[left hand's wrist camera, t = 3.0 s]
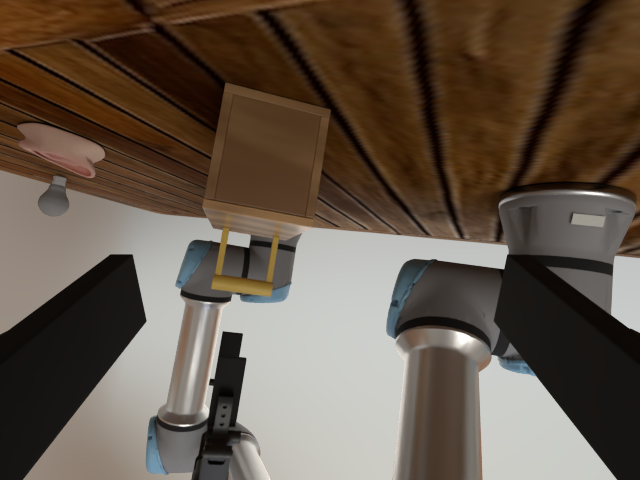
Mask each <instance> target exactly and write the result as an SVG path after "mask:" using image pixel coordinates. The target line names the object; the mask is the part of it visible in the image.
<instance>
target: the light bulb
mask: <svg viewBox="0 0 640 480" xmlns="http://www.w3.org/2000/svg"><path fill="white" fill-rule="evenodd" d="M53 177H54V180H53V181H52V184H51V185H50V186H49V188H48V190H47V191H46V192H45V193H44V194H43V195H41V196H40V198H39V200H38V206H39V208H40V210H41V211H42V212H43V213H45V214H46V215H49V216H60V215H62V214H64V213H65V212H66V211H67V210H68V208H69V201H68V198H67V196H66V188H65V184H66V183H65V182H66V180H67V179H66V178H64V177H63V176H60V175H56V176H53Z"/></svg>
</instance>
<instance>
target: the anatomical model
mask: <svg viewBox="0 0 640 480" xmlns="http://www.w3.org/2000/svg"><path fill="white" fill-rule="evenodd" d="M17 128H18V129H19V130H20V131H21V132H22V133H23V135H24V136H25V138H24V139H22V140H20V141H19V142H18V145H19V146H20V147H22V148H23V149H25V150H27V151H30V152H32V153H34V154H36V155H38V156H40V157H42V158H44V159H46V160H48V161H50V162H52V163H54V164H56V165H59V166H61V167H63V168H65V169H67V170H70V171H72V172H74V173H76V174H79V175H81V176H84V177H87V178H93V177H94V176H95V169H94V167H93V163H95V162H97V161H100V160H102V159H103V158H104V157H105V152H104V150H103V148H102V147H101V146H99V145H98V144H96V143H94V142H92V141H90V140H88V139H85V138H83V137H80V136H78V135H75V134H72V133H69V132H66V131H64V130H61V129H58V128H55V127H52V126H48V125H45V124H40V123H24V124H20V125H18V126H17Z"/></svg>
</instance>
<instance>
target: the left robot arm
mask: <svg viewBox="0 0 640 480" xmlns="http://www.w3.org/2000/svg"><path fill="white" fill-rule="evenodd" d="M636 200H637V198H636V196H635V195H634V194H633V193H631V192H629V191H627V190H624V189H620V188H616V187H611V186H605V185H596V184H580V183H559V184H543V185H534V186H527V187H522V188H518V189H514V190H511V191H508V192H506V193H504V194H502V195H501V196H500V199H499V215H500V218H501V222H502V226H503V230H504V234H505V237H506V241H507V245H508V249H509V254H508V255H507V259H506V264H505V269H497V268H489V267H482V266H474V265H467V264H459V263H451V262H444V261H438V260H436V259H434V260H433V259H432V260H420V259H412V260H410V261H407V262H406V263H404V265H403V266H402V268H401V270H400V272H399V274H398V277H397V280H396V284H395V287H394V291H393V295H392V302H391V304H390V308H389V312H388V318H387V326H386V329H387V330H386V331H387V334H388V335H389V336H391V337H392V338H394V339H396V340H395V348H396V351H397V353H398V354H399V356H400V357H401V358H402V359H403V360H404V361H405V367H404V376H403V386H402V395H401V405H400V414H399V423H398V433H397V443H396V452H395V461H394V471H393V480H482V457H481V430H480V401H479V374H478V372H480V371H481V370H483V369H484V368H485V367H487V366H488V365H489V363H490V361H491V355H496V356H498V360H499V363H500V365H501V366H502V367H503V368H505V369H507V370H510V371H513V372H517V373H522V374H530V375H533V376H537V378H538V379H539V380H540V381H541V383H542V384H543V385H544V387H545V388H546V389H547V390H548V392H549V393H550V394H551V395H552V397H553V398H554V399H555V401H556V402H557V403H558V405H559V406H560V407H561V408H562V410H563V411H564V412H565V414H566V415H567V416H568V417H569V419H570V420H571V421H572V422H573V424H574V425H575V426H576V428H577V429H578V430H579V431H580V433H581V434H582V435H583V437H584V438H585V439H586V440H587V442H588V443H589V444H590V446H591V447H592V448H593V449H594V451H595V452H596V453H597V454H598V456H599V457H600V458H601V460H602V461H603V462H604V463H605V465H606V466H607V467H608V469H609V470H610V471H611V472H612V474H613V475H614V476H615V478H616V479H617V480H640V333H639V332H637V331H635V330H633V329H629V328H628V327H626V326H625V325H624V324H622V323H621V322H619V321H618V320H617V319H615V318H614V317H613V316H611V302H612V280H613V263H614V257H615V255H616V253H617V250H618V248H619V246H620V244H621V242H622V240H623V238H624V236H625V234H626V232H627V230H628V228H629V226H630V224H631V221H632V219H633V217H634V215H635V210H636ZM145 323H146V317H145V312H144V307H143V302H142V298H141V292H140V288H139V283H138V278H137V273H136V269H135V264H134V259H133V255H128V254H127V255H124V254H120V255H116V254H112V255H109V256H108V257H107V258H105V259H104V260H103V261H101V262H100V263H99V264H97V265H96V266H95V267H93V268H92V269H91V270H89V271H88V272H86V273H85V274H84V275H82V276H81V277H80V278H78V279H77V280H76V281H74V282H73V283H72V284H70V285H69V286H68V287H66V288H65V289H64V290H62V291H61V292H60V293H58V294H57V295H55V296H54V297H53V298H51V299H50V300H49V301H47V302H46V303H45V304H43V305H42V306H41V307H39V308H38V309H37V310H35V311H34V312H33V313H31V314H30V315H29V316H27V317H26V318H25V319H23V320H22V321H20V322H19V323H18V324H16V325H15V326H14V327H12V328H11V329H10V330H8V331H6V332H5V333H2V334H0V480H23V479H24V478H25V476H26V475H27V474H28V472H29V471H30V470H31V469H32V467H33V466H34V465H35V463H36V462H37V461H38V460H39V458H40V457H41V456H42V454H43V453H44V452H45V451H46V449H47V448H48V447H49V445H50V444H51V443H52V442H53V440H54V439H55V438H56V436H57V435H58V434H59V433H60V431H61V430H62V429H63V427H64V426H65V425H66V424H67V422H68V421H69V420H70V419H71V417H72V416H73V415H74V413H75V412H76V411H77V410H78V408H79V407H80V406H81V405H82V403H83V402H84V401H85V399H86V398H87V397H88V396H89V394H90V393H91V392H92V390H93V389H94V388H95V387H96V385H97V384H98V383H99V381H100V380H101V379H102V378H103V376H104V375H105V374H106V372H107V371H108V370H109V369H110V367H111V366H112V365H113V363H114V362H115V361H116V360H117V358H118V357H119V356H120V355H121V353H122V352H123V351H124V349H125V348H126V347H127V346H128V344H129V343H130V342H131V340H132V339H133V338H134V337H135V335H136V334H137V333H138V332H139V330H140V329H141V328H142V326H143V325H144V324H145Z"/></svg>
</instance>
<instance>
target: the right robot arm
mask: <svg viewBox="0 0 640 480" xmlns="http://www.w3.org/2000/svg"><path fill="white" fill-rule="evenodd" d="M301 234H302V233H300V234H298V235H296V236H294V237H292V238H290V239H288V240H286V241H285V240H279V241H278V248H277V254H276V260H275V266H274V272H273V279H272V282H273V289H272V294H271V297H268V296H261V295H253V294H246V293H238V292H231V291H223V290H216V289H211V285H212V279H213V275H214V274H215V271H216V266H217V260H218V254H219V249H220V243H217V242H213V241H203V240H194V241H192V242H191V243H190V244H189V246H188V248H187V251H186V254H185V257H184V260H183V263H182V265H181V269H180V272H179V275H178V278H177V281H176V287H178V288H181V293H180V296H181V298H182V299H183V300H184V301H185V309H184V314H183V320H182V325H181V330H180V335H179V341H178V346H177V351H176V357H175V362H174V367H173V373H172V378H171V383H170V389H169V394H168V399H167V403H165V404H164V405H163V406H161V407H160V408H159V410H158V415H156V416H153V417H151V418H150V421H149V427H148V440H147V449H146V467H147V470H148V471H149V472H150V473H153V474H165V475H167V474H169V473H184V472H193V474H192V480H271V479H270V477H269V475H268V473H267V471H266V469H265V467H264V465H263V463H262V461H261V459H260V447H259V444H258V442H257V440H256V438H255V437H254V436H253V434H252V433H251V432H250V431H249V430H248V429H246V428H245V427H244V426H242V425H241V424H239V423H237V422H236V419H237V413H238V407H239V401H240V395H241V389H242V383H243V377H244V371H245V365H246V358H243V357H239V354H240V348H241V342H242V336H243V334H242V333H232V332H224V331H223V333H222V339H221V345H220V350H219V356H218V362H217V368H216V373H215V379H210V374H211V368H212V363H213V358H214V353H215V347H216V342H217V336H218V331H219V326H220V321H221V315H222V310H223V308H224V307H225V306H226V305H227V304H229V303H230V302H231V297H232V294H237V295H240V298H241V301H243V302H254V303H274V302H281V301H284V300H285V299H286V298H287V296H288V293H289V288H290V285H291V278H292V271H293V264H294V258H295V251H296V245H297V242H298V240H299V238H300V236H301ZM272 240H273V238H268V237H262V236H256V235H251V239H250V245H249V248H246V247H240V246H235V245H229V244H227V245H226V251H225V256H224V262H223V267H222V273H221V275H227V276H234V277H241V278H248V279H255V280H262V281H266V277H267V271H268V265H269V259H270V253H271V247H272ZM209 379H210V382H209ZM208 385H212V386H214V387H213V393H212V399H211V405H210V410H209V409H208V408H207V407H206V405H205V400H206V395H207V390H208Z"/></svg>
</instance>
